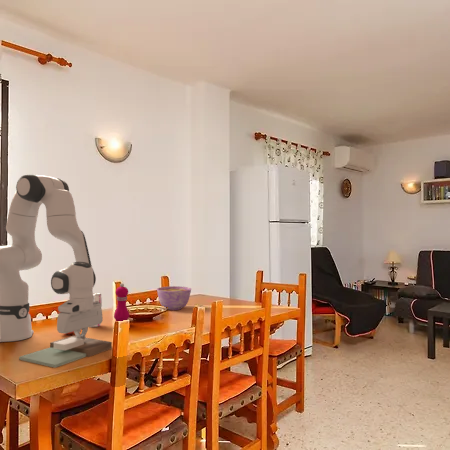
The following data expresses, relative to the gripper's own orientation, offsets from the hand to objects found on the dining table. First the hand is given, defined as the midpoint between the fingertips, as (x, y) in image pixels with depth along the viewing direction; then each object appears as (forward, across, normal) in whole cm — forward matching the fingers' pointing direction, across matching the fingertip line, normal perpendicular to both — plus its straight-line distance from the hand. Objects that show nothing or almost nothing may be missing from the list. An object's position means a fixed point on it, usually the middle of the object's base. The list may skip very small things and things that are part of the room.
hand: (80, 340), depth 161 cm
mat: (+3, +13, 0) cm, 13 cm away
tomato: (+4, -14, -21) cm, 25 cm away
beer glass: (+4, -30, -23) cm, 38 cm away
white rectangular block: (+1, +6, 0) cm, 6 cm away
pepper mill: (+4, -38, -13) cm, 40 cm away
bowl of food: (+4, -84, -13) cm, 85 cm away
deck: (+3, 0, 0) cm, 3 cm away
